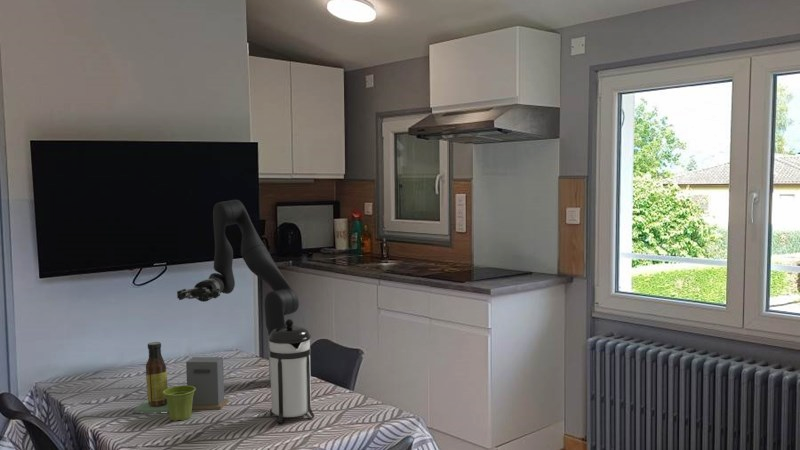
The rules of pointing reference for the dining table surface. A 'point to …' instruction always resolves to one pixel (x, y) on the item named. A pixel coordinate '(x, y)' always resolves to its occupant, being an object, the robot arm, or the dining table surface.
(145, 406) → the green mat
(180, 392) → the plant pot
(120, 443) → the dining table surface
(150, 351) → the sauce bottle
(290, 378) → the coffee press
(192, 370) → the charcoal unit
